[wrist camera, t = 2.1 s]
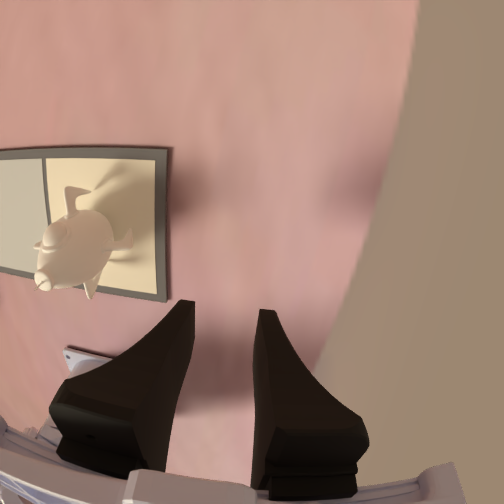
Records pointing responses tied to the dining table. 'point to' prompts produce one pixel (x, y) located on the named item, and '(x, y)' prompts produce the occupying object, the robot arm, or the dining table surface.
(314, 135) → the dining table surface
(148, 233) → the game mat
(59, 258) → the rocket toy
